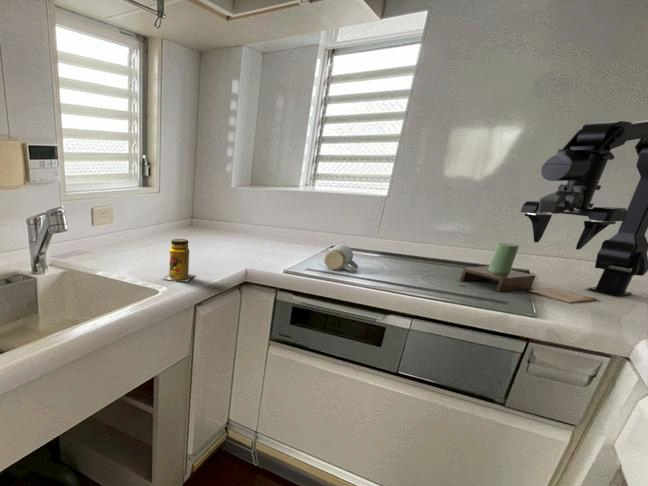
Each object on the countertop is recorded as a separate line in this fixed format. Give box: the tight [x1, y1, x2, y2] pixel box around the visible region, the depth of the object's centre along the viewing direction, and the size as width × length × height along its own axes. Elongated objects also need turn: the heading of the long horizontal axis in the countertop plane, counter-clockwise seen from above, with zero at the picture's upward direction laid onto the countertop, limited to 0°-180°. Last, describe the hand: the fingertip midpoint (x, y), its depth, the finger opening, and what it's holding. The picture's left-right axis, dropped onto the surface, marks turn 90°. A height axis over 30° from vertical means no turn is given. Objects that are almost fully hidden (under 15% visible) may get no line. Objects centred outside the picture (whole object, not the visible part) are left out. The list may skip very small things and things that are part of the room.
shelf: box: [459, 265, 536, 293], centre depth 120 cm, size 12×12×4 cm
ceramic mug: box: [323, 244, 360, 273], centre depth 136 cm, size 11×8×8 cm
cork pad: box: [527, 287, 598, 304], centre depth 111 cm, size 10×10×1 cm
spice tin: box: [488, 242, 520, 274], centre depth 118 cm, size 5×5×8 cm
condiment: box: [165, 238, 195, 282], centre depth 125 cm, size 7×8×12 cm
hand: (556, 245), depth 102 cm, fingers open, 9 cm apart
